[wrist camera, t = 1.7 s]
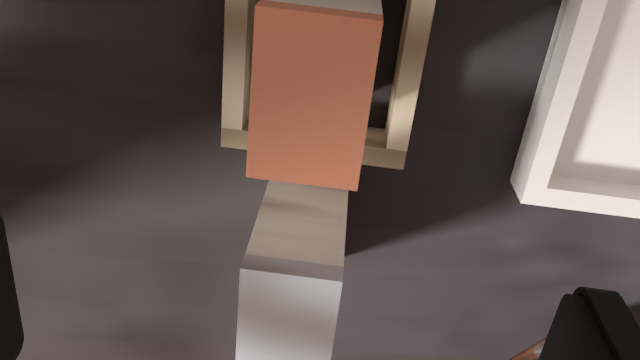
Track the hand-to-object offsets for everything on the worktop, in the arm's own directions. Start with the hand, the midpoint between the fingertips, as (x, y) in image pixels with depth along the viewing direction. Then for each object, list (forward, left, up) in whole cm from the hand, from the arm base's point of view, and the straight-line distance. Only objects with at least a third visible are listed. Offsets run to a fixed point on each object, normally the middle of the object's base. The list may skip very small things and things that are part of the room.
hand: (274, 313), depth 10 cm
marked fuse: (0, 0, -21) cm, 21 cm away
